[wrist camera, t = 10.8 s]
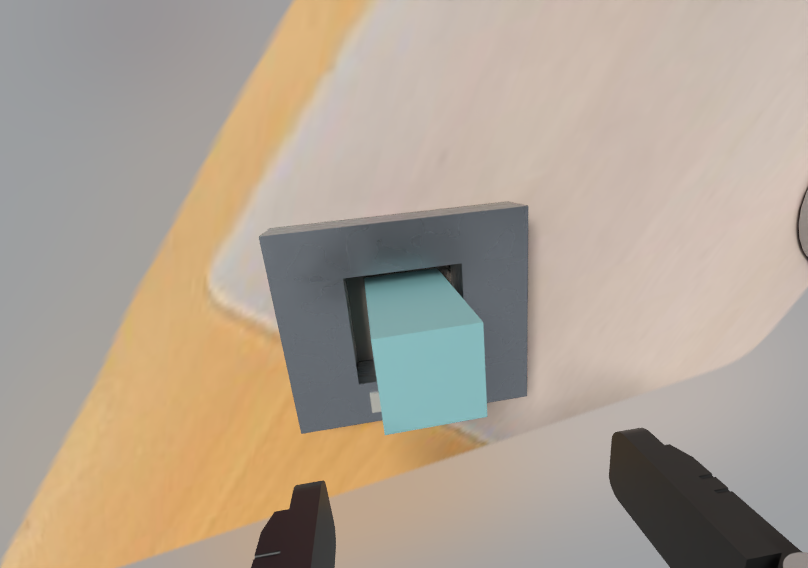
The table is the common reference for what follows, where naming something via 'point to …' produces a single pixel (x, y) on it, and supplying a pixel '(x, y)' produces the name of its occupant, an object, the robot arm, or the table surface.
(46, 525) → the table surface
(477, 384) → the teal peg
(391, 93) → the table surface
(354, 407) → the rail plate
